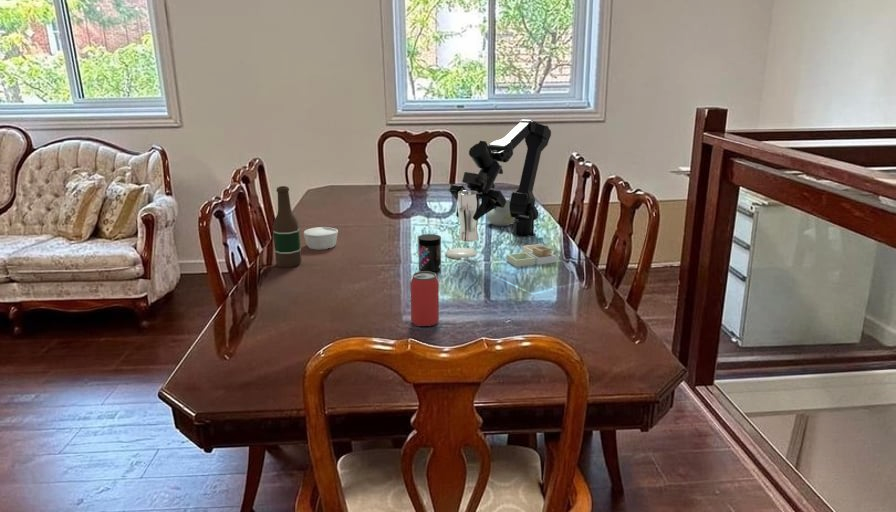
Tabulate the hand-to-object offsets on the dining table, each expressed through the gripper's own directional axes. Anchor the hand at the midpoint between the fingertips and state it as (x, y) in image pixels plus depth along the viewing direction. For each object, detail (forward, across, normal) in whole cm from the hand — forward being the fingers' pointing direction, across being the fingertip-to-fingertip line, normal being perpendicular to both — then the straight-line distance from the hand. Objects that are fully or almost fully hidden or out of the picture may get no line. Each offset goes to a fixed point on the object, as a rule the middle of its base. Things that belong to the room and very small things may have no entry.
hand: (466, 218), depth 189 cm
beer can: (+42, +22, -24) cm, 53 cm away
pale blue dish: (+2, +21, +17) cm, 27 cm away
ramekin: (+22, -47, -4) cm, 52 cm away
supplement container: (+21, -1, -2) cm, 21 cm away
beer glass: (+4, 0, +6) cm, 7 cm away
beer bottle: (+36, -40, -18) cm, 56 cm away
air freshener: (-20, -14, +40) cm, 47 cm away
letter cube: (+1, +21, +17) cm, 27 cm away
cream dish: (-2, +16, +21) cm, 26 cm away
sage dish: (+6, +17, +13) cm, 22 cm away
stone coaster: (+8, -4, +11) cm, 14 cm away
